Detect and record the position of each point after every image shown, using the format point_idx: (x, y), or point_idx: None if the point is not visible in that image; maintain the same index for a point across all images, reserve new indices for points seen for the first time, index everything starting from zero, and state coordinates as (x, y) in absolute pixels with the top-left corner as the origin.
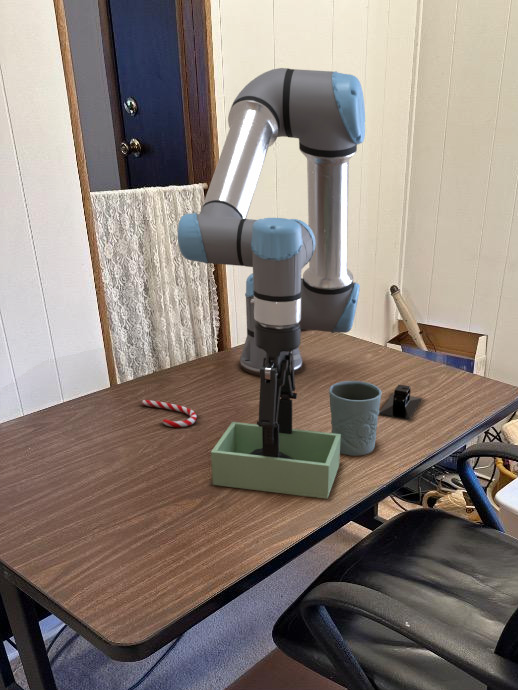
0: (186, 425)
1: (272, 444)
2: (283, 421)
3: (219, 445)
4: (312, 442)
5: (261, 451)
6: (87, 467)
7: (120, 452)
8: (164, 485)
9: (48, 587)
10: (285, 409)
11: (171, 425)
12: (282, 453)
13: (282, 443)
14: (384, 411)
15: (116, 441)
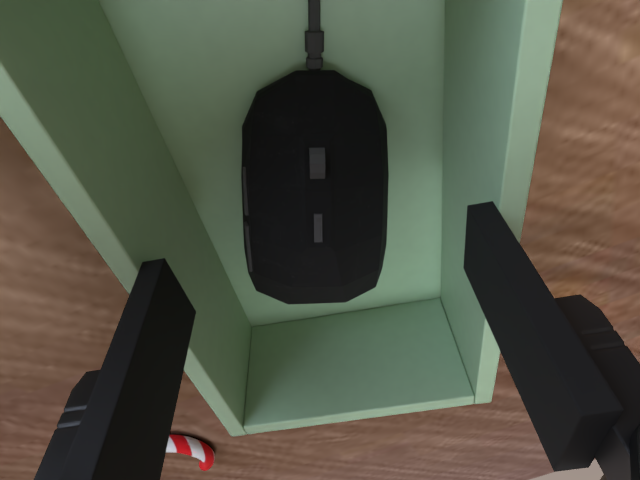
0: (189, 439)
1: (581, 298)
2: (167, 349)
3: (434, 403)
4: (96, 128)
5: (331, 286)
6: (435, 457)
7: (361, 453)
8: None
9: None
10: (139, 424)
11: (212, 453)
12: (269, 215)
13: (180, 250)
14: None
15: (323, 469)
